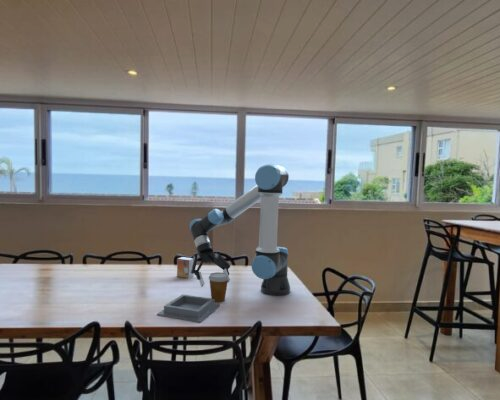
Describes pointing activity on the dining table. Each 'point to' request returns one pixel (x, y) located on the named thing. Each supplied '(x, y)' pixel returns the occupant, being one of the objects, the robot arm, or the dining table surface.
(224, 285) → the disposable coffee cup
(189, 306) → the tray
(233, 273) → the dining table surface
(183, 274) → the small box
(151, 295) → the dining table surface
